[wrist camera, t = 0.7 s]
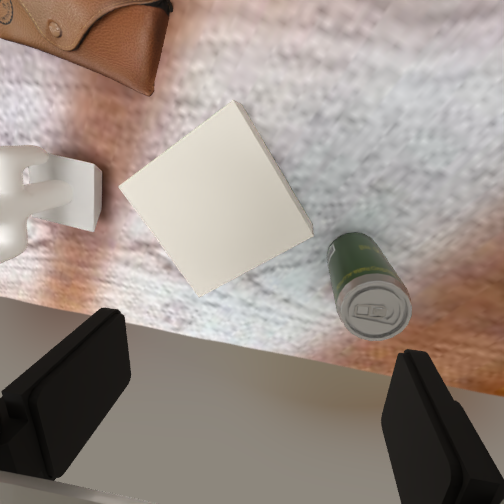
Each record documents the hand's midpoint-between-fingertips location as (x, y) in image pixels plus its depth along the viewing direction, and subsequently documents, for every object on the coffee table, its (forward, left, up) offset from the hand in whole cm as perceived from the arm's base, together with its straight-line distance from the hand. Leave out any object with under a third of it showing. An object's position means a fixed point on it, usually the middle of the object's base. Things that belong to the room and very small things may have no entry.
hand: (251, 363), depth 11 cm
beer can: (-8, -3, -25) cm, 26 cm away
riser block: (+4, +6, -24) cm, 25 cm away
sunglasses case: (+26, +8, -25) cm, 37 cm away
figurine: (+14, +19, -25) cm, 34 cm away
